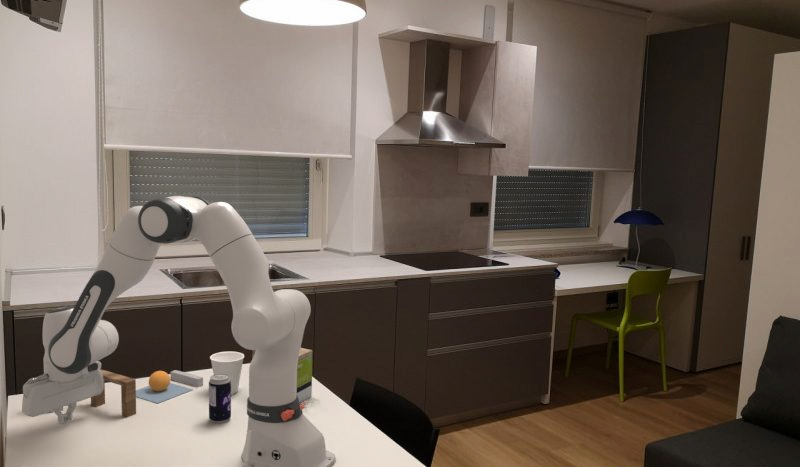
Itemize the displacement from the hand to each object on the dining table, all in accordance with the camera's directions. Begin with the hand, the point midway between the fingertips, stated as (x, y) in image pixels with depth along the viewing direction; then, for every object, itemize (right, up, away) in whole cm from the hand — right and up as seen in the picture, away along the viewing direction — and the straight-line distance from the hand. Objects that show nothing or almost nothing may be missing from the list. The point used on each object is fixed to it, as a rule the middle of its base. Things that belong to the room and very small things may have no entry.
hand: (65, 421), depth 167 cm
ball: (+14, +4, +27) cm, 31 cm away
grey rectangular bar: (+20, +2, +35) cm, 40 cm away
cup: (+34, 0, +28) cm, 44 cm away
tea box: (+51, 0, +25) cm, 57 cm away
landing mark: (+15, +1, +26) cm, 30 cm away
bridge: (+7, 0, +12) cm, 14 cm away
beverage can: (+38, -2, +8) cm, 38 cm away
